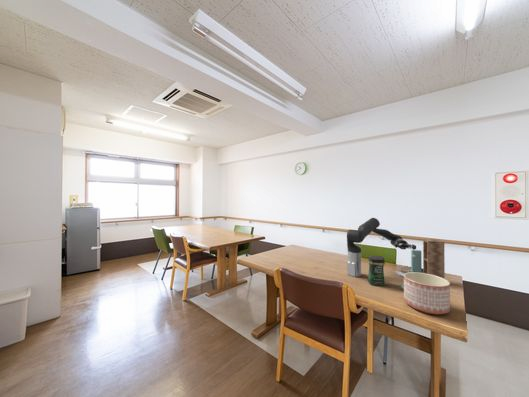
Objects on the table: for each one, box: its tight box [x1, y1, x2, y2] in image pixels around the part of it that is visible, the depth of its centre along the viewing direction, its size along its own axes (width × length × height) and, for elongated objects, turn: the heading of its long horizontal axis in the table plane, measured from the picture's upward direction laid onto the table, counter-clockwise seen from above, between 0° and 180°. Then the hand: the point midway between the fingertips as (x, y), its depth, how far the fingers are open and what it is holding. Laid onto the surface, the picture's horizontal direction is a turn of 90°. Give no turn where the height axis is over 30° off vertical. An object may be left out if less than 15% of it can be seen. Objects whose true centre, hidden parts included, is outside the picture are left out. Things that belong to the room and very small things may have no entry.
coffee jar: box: [367, 255, 386, 287], centre depth 140 cm, size 10×8×19 cm
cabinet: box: [400, 238, 446, 279], centre depth 148 cm, size 21×18×28 cm
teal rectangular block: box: [410, 249, 423, 273], centre depth 152 cm, size 6×4×18 cm, turn 72°
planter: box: [403, 271, 451, 316], centre depth 111 cm, size 19×19×15 cm
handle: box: [394, 270, 404, 290], centre depth 127 cm, size 18×8×20 cm
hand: (407, 247), depth 163 cm, fingers open, 8 cm apart
